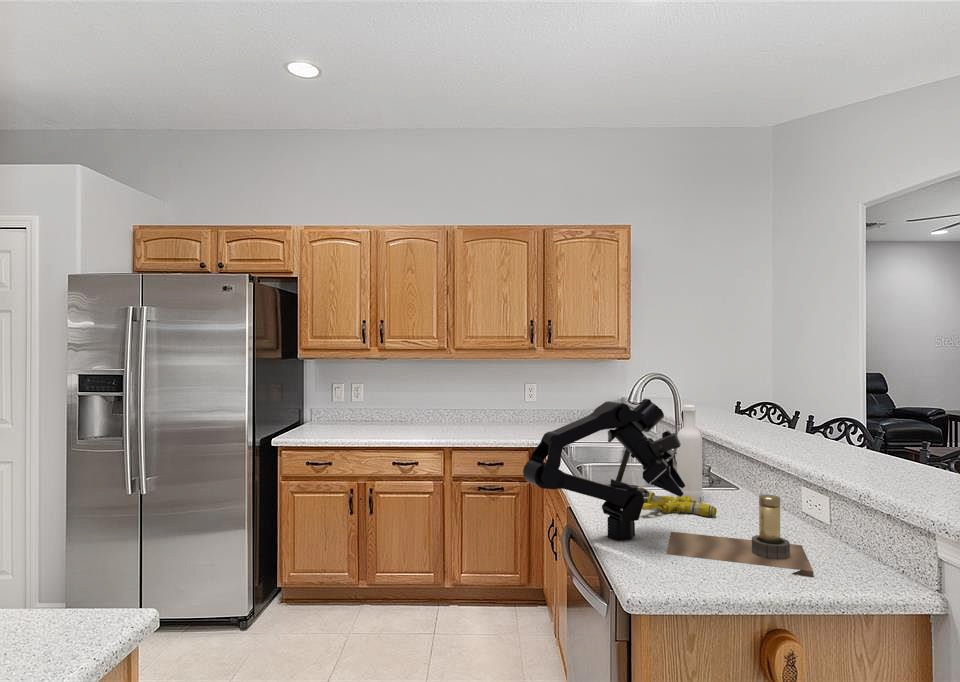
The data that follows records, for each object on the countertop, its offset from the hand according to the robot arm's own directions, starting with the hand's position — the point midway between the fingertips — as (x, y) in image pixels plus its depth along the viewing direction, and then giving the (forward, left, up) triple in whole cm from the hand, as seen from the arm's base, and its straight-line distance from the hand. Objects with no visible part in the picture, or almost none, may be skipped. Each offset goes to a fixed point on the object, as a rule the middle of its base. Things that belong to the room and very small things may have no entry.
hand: (683, 491), depth 149 cm
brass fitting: (+10, -16, -12) cm, 23 cm away
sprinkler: (+24, +20, -14) cm, 34 cm away
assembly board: (+5, -10, -14) cm, 18 cm away
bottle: (+40, +28, -14) cm, 51 cm away
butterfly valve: (+20, +34, -14) cm, 42 cm away
